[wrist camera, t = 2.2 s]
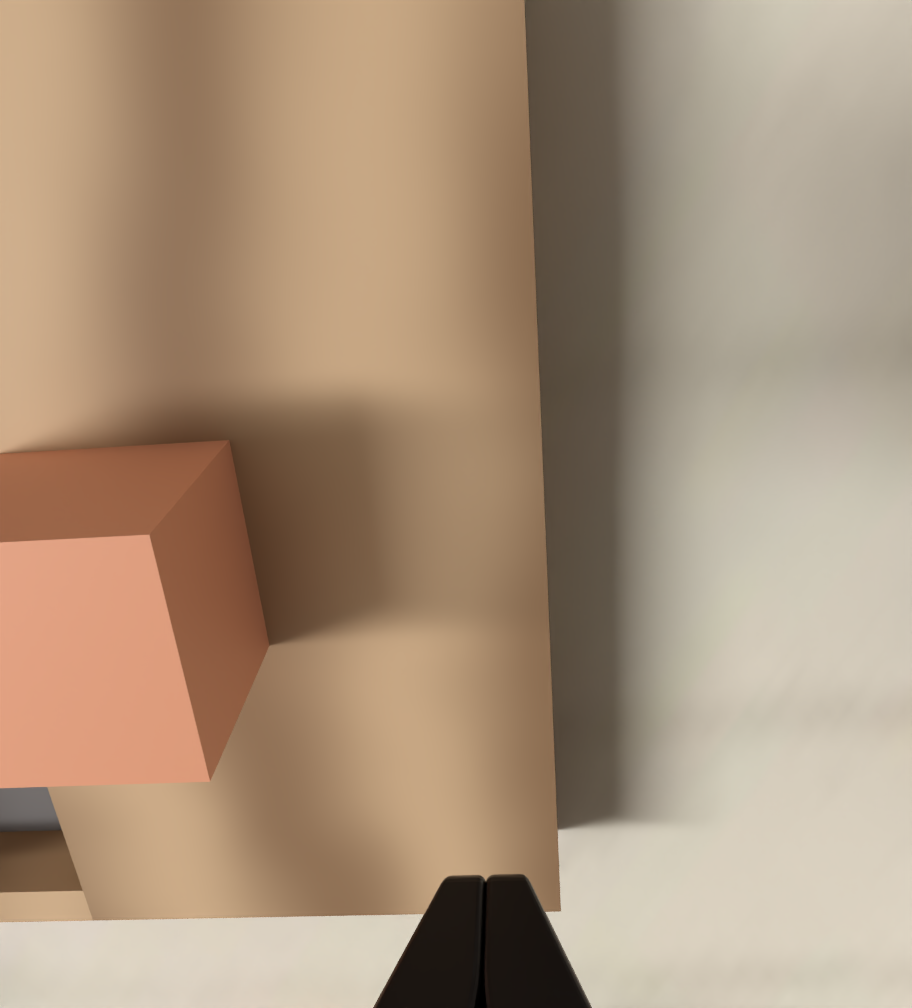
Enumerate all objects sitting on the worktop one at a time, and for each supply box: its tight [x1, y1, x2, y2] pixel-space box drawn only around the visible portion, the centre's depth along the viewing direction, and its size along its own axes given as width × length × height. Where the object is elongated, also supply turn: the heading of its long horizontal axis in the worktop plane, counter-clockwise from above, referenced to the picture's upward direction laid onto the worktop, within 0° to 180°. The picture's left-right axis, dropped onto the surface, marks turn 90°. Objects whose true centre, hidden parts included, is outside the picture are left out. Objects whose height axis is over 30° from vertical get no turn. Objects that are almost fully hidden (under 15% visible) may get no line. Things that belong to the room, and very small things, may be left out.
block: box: [0, 440, 269, 788], centre depth 15 cm, size 4×4×4 cm
